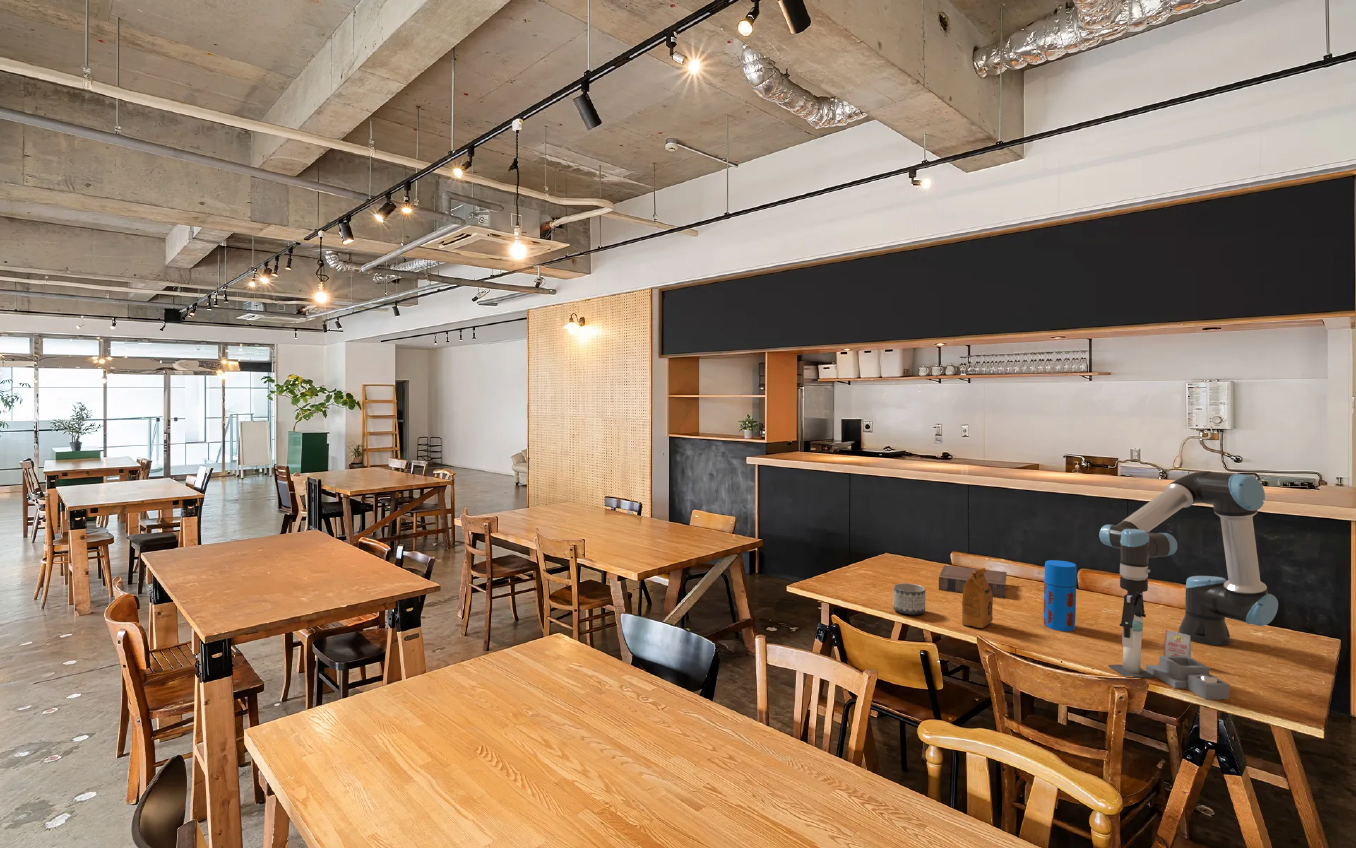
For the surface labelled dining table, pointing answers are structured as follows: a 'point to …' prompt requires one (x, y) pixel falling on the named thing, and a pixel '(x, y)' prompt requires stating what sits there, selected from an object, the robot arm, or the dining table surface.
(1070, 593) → the thermos
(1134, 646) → the white and teal cylinder
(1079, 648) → the dining table surface
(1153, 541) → the robot arm
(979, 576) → the coffee package
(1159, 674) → the housing
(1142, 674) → the mat
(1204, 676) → the shiny grey domed cylinder
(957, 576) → the book
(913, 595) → the planter
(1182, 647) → the white printed box
